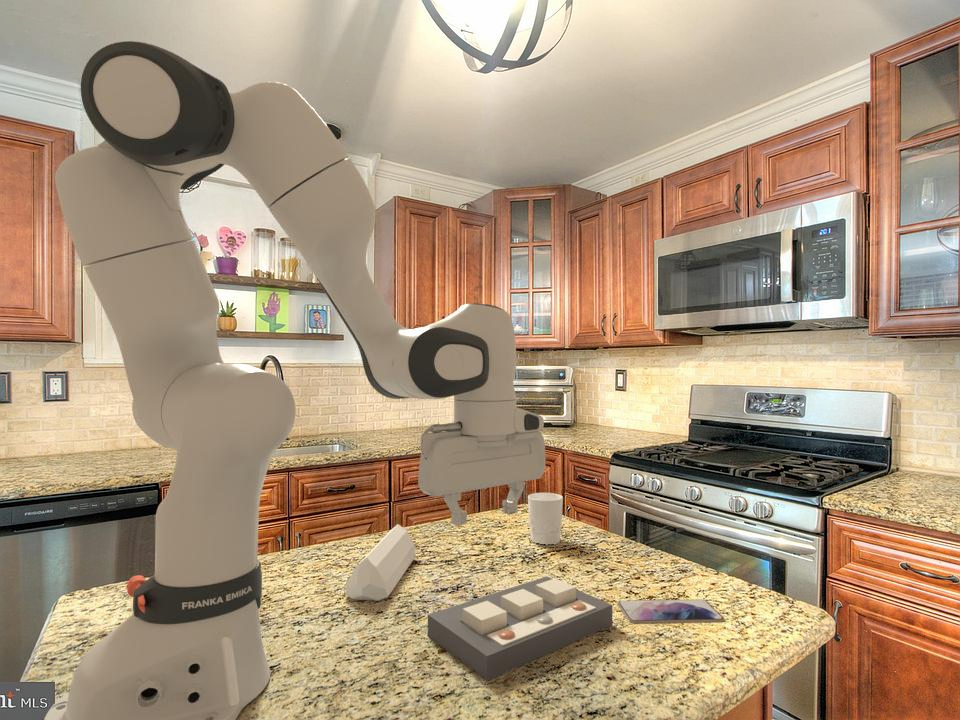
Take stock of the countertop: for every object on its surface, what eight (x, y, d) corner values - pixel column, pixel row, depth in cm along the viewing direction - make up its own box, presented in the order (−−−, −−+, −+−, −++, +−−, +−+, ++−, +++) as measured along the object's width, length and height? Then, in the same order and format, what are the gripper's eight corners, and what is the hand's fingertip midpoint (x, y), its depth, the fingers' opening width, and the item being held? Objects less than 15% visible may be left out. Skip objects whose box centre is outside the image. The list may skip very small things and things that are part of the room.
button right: (555, 614, 79) (555, 594, 79) (535, 604, 83) (535, 584, 83) (575, 606, 82) (575, 587, 82) (555, 596, 85) (555, 578, 85)
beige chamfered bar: (395, 583, 86) (426, 537, 110) (358, 559, 87) (397, 519, 111) (372, 621, 86) (409, 567, 110) (336, 597, 87) (380, 549, 111)
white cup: (553, 548, 114) (553, 502, 114) (521, 542, 118) (521, 497, 119) (568, 539, 121) (568, 495, 121) (537, 533, 125) (537, 491, 125)
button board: (487, 680, 65) (487, 652, 65) (427, 635, 76) (427, 611, 76) (612, 625, 80) (612, 602, 80) (547, 593, 91) (547, 573, 91)
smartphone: (726, 619, 81) (630, 621, 80) (726, 625, 81) (630, 626, 80) (704, 598, 88) (616, 600, 87) (704, 603, 88) (616, 605, 87)
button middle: (520, 627, 75) (520, 606, 75) (501, 616, 78) (501, 596, 79) (543, 619, 78) (543, 598, 78) (523, 608, 81) (523, 588, 81)
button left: (481, 643, 71) (481, 620, 71) (462, 630, 74) (462, 608, 74) (506, 633, 73) (506, 611, 73) (487, 621, 77) (487, 600, 77)
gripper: (434, 427, 66) (434, 538, 65) (552, 417, 78) (552, 511, 78) (409, 423, 71) (409, 526, 71) (523, 414, 83) (524, 502, 83)
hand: (485, 518), depth 74 cm, fingers open, 8 cm apart
